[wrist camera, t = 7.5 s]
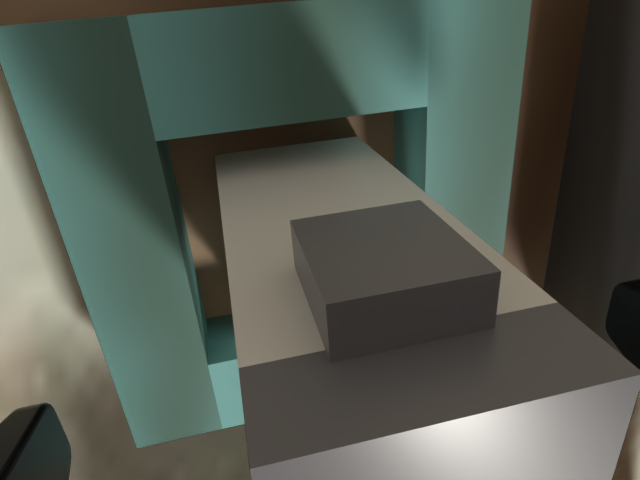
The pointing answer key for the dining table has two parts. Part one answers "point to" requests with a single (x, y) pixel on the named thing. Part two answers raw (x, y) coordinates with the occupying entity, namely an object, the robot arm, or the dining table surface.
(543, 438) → the plug
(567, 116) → the dock
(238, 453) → the dining table surface
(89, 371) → the dining table surface
